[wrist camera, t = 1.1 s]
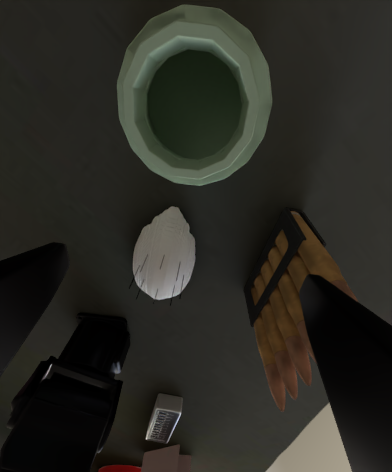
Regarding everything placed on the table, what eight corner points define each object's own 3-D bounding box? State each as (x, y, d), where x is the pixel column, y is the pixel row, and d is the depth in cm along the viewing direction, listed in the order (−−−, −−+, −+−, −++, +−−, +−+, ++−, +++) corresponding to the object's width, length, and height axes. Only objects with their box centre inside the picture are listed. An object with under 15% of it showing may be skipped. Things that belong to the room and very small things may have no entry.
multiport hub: (183, 397, 39) (181, 413, 37) (169, 429, 47) (167, 443, 45) (158, 392, 39) (155, 408, 37) (148, 425, 47) (145, 440, 45)
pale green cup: (144, 158, 19) (109, 186, 13) (143, 29, 15) (89, -28, 8) (241, 169, 19) (256, 204, 12) (267, 44, 15) (310, -2, 8)
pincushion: (182, 300, 27) (176, 343, 22) (132, 289, 27) (115, 331, 22) (207, 213, 21) (206, 246, 16) (143, 197, 21) (122, 226, 16)
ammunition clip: (284, 206, 20) (358, 313, 10) (304, 211, 20) (396, 322, 10) (243, 289, 26) (263, 414, 15) (258, 293, 26) (289, 419, 16)
